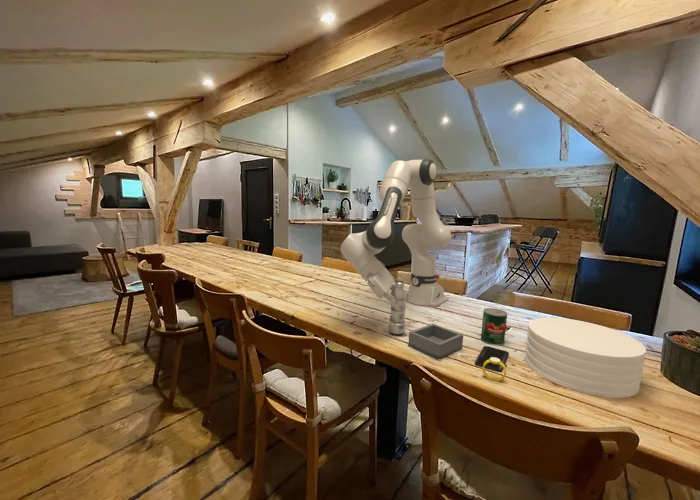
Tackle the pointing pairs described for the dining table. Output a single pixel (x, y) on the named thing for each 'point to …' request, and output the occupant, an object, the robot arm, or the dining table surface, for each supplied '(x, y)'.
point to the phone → (487, 354)
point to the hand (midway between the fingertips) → (396, 298)
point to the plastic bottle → (398, 309)
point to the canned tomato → (493, 326)
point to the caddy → (435, 341)
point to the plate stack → (585, 357)
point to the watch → (494, 361)
